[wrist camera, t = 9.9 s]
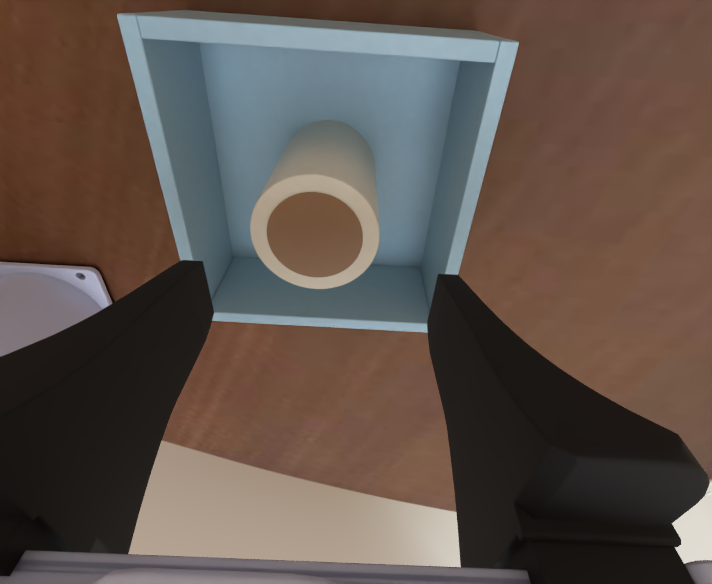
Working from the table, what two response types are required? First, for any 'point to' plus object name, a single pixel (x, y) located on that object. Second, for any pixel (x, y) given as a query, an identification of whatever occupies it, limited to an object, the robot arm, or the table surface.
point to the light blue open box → (299, 108)
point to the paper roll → (319, 208)
